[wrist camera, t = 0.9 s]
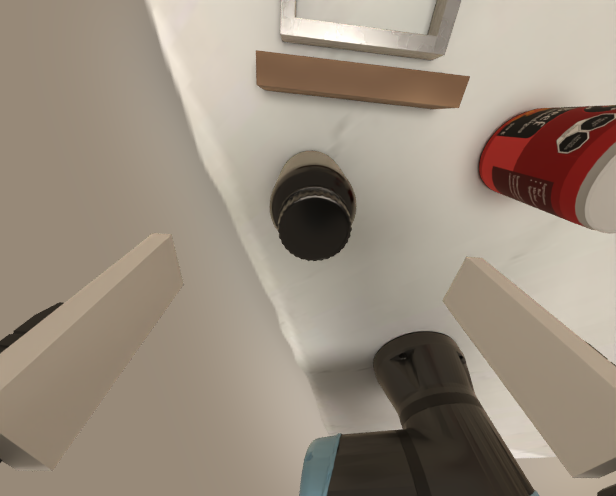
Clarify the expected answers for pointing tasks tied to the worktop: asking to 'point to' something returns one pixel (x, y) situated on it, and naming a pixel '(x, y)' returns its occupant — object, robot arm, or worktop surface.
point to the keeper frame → (372, 33)
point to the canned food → (558, 163)
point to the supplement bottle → (313, 206)
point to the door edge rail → (358, 81)
